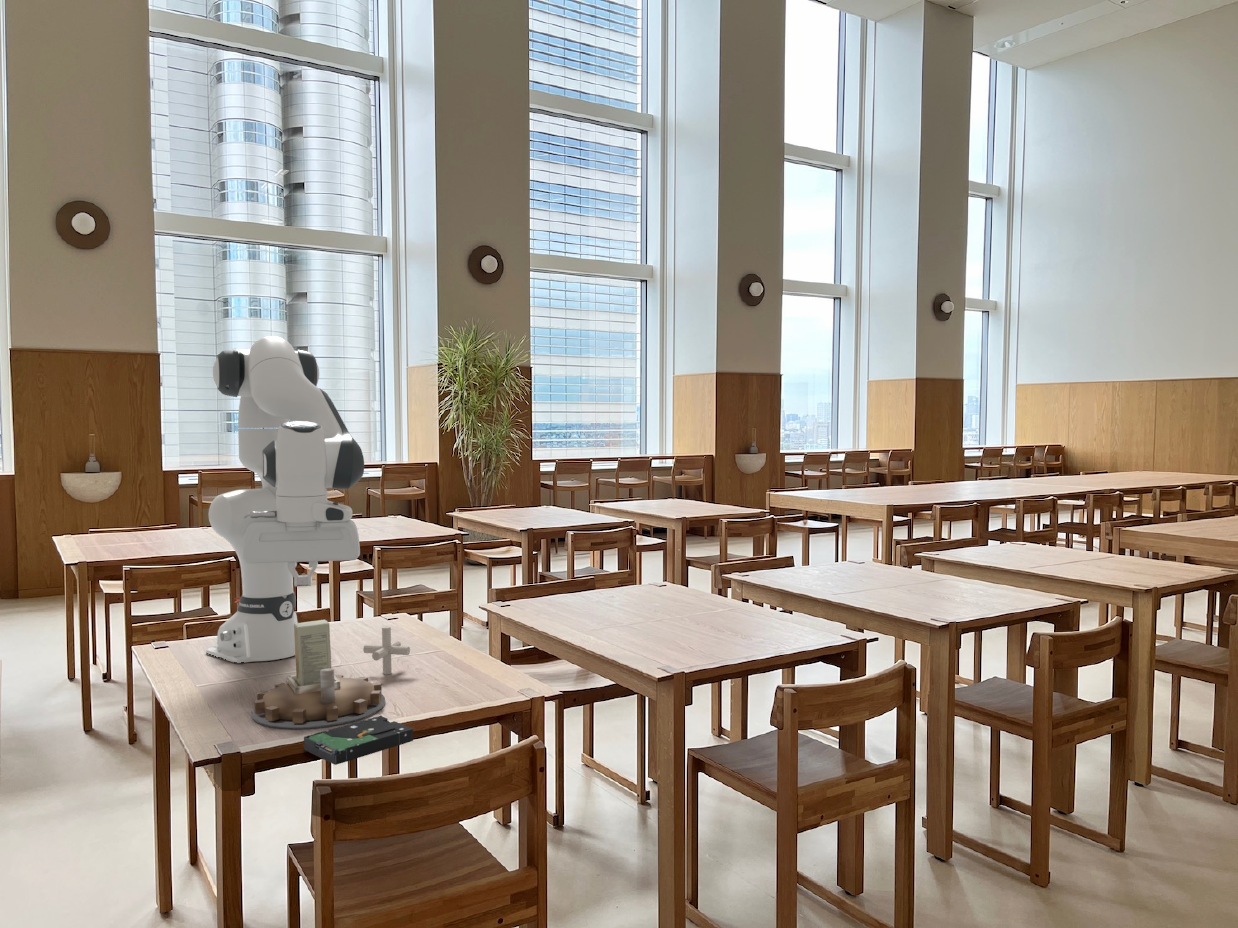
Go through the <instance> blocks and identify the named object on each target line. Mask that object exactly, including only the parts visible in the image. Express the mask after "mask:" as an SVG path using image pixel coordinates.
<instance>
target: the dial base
mask: <svg viewBox="0 0 1238 928" xmlns="http://www.w3.org/2000/svg"><path fill="white" fill-rule="evenodd" d="M381 699H382V701H381V703H380V704H371V705H369V706H368V707H367V712H364V713H361V714H357V713H351V714H348V715H344V716H339V717H338V720H332V721H327V719H320V720H306V721H305V722H304V723H293V720H283V719H278V720H275V721H268V720H265V713H262V714H255V712H254V707H253V708H252V710H251V719H252V720H253V721H254V722H255V723H257V724H258V725H261V726H263V727H268V728H272V729H281V730H311V729H323V728H330V727H337V726H341V725H342V726H343V725H348V724H352V723H356V722H359V721H362V720H365V719H368V717H369V718H370V716H373V715H375V714H378V712H379V711H382V709H383V708H384V707H385V705H386V698H385V695H383V694H382V695H381Z"/></svg>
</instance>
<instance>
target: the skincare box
mask: <svg viewBox="0 0 1238 928" xmlns="http://www.w3.org/2000/svg"><path fill="white" fill-rule="evenodd" d="M330 627H331V626H330V623H329V621H328V620H326V619H318V620H311V621H309V620H308V621H302V622H298V623H294V636H295V655H294V656H295V675H296V679H297V685H298V687H300V686H307V685H314V684H321V678H320V670H322V669H328V668H331V669H332V653H331V652H332V650H331V648H332V647H331V634H330V633H331V631H330Z"/></svg>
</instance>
